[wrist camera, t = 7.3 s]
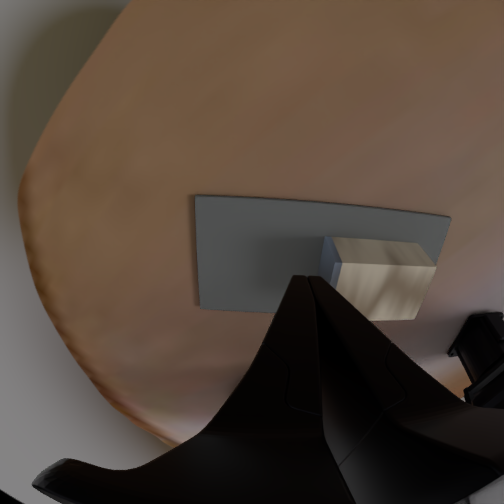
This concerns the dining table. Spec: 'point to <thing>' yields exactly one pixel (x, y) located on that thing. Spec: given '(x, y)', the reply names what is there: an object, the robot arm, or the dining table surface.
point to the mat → (287, 243)
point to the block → (378, 275)
